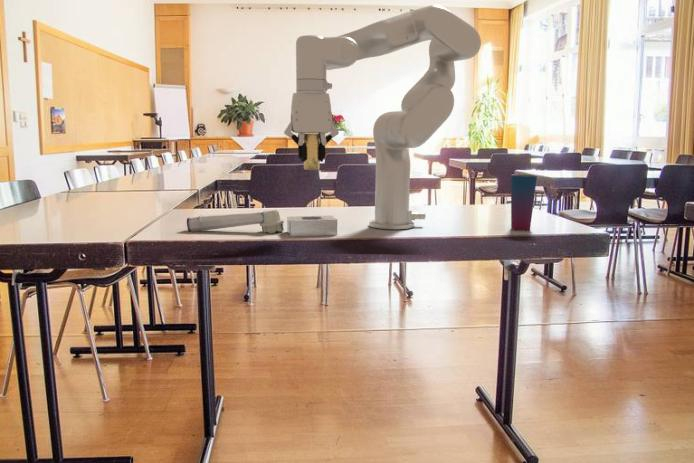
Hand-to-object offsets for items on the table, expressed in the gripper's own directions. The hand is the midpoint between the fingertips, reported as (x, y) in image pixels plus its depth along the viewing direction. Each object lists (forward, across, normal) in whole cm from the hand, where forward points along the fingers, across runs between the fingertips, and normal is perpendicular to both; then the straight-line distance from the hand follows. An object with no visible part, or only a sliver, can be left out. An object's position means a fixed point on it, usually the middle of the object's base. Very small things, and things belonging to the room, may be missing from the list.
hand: (311, 160), depth 151 cm
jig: (+19, 0, 0) cm, 19 cm away
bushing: (+2, 0, 0) cm, 2 cm away
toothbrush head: (+19, +19, -6) cm, 28 cm away
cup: (+19, -58, +4) cm, 61 cm away
